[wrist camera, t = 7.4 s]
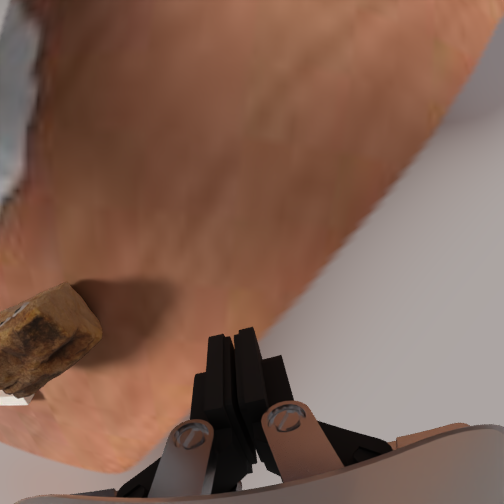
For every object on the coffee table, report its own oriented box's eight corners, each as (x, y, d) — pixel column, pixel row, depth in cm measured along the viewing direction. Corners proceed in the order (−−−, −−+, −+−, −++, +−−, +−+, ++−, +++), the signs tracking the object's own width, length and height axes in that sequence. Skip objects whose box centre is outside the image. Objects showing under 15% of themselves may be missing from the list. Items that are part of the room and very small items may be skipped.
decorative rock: (87, 249, 18) (6, 320, 9) (128, 319, 20) (83, 420, 11) (-6, 306, 19) (-76, 372, 10) (30, 361, 20) (-23, 440, 11)
